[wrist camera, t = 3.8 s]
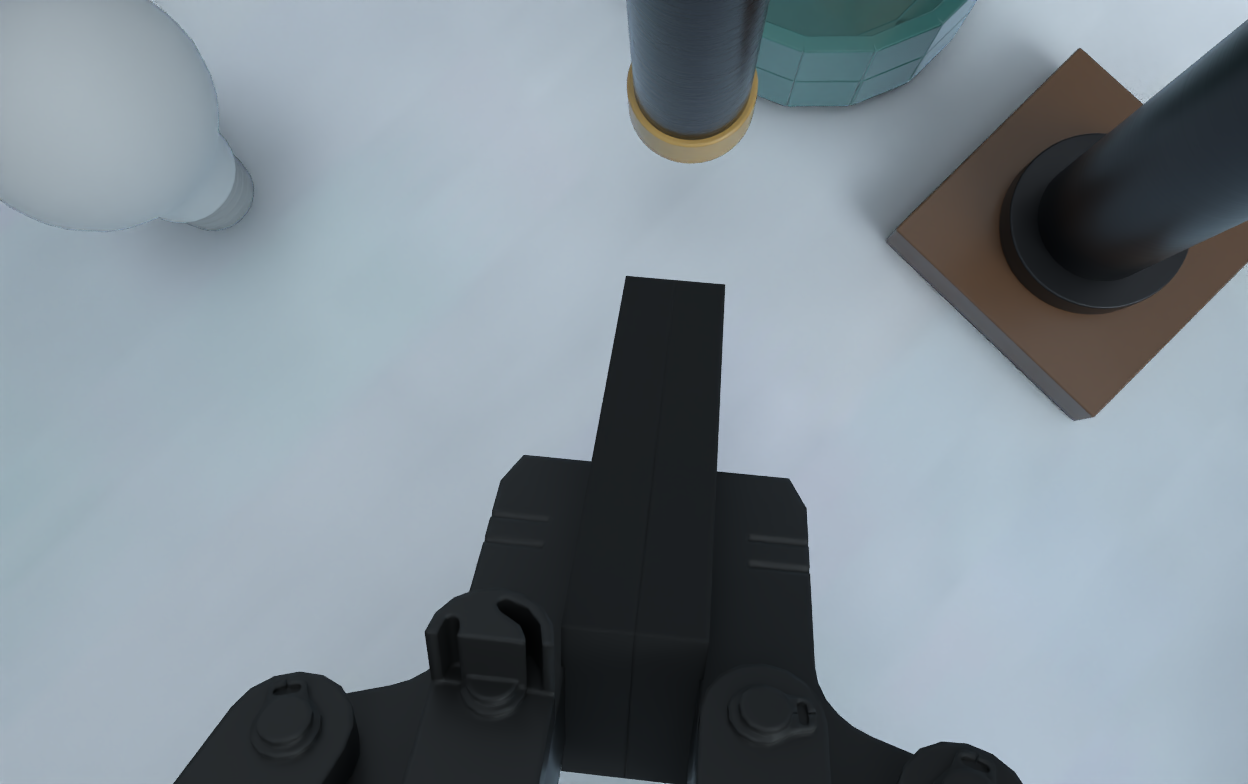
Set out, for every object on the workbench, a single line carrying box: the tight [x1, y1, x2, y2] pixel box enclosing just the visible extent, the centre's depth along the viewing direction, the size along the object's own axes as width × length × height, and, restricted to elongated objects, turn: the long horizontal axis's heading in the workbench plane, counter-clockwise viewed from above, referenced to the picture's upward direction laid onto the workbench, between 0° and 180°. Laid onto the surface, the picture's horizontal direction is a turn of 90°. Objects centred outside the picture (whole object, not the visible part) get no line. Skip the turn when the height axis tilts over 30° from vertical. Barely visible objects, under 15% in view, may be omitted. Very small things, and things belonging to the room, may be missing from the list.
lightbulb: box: [0, 0, 254, 232], centre depth 27 cm, size 6×6×11 cm
